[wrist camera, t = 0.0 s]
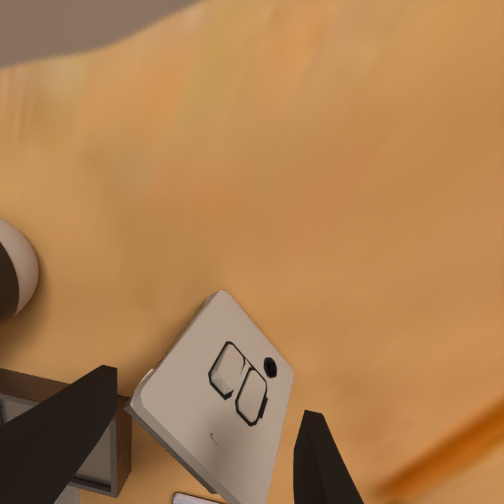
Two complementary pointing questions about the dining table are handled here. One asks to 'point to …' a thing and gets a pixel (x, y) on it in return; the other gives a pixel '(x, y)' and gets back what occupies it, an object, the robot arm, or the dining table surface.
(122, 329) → the dining table surface
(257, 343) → the electrical switch
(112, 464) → the rack
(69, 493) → the grey rectangular block
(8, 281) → the dark egg shaped ornament
